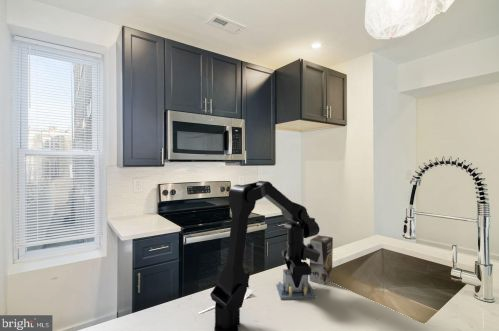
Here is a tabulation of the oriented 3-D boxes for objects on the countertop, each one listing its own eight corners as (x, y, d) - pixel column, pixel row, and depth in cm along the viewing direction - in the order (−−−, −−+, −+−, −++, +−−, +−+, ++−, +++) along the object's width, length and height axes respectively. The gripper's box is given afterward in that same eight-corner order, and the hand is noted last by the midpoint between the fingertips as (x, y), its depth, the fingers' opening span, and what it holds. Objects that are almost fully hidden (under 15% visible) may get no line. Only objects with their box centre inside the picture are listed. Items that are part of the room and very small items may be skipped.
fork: (196, 313, 79) (196, 307, 79) (248, 292, 91) (248, 287, 91) (200, 318, 76) (200, 312, 76) (253, 296, 88) (253, 291, 88)
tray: (280, 299, 86) (281, 288, 86) (276, 286, 95) (276, 276, 95) (315, 298, 87) (315, 287, 87) (308, 285, 96) (308, 275, 96)
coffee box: (324, 285, 96) (325, 242, 96) (308, 280, 100) (309, 239, 100) (333, 276, 103) (333, 237, 103) (317, 272, 107) (318, 234, 107)
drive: (285, 292, 88) (285, 274, 88) (282, 285, 93) (283, 269, 93) (308, 291, 89) (308, 274, 89) (304, 285, 93) (304, 268, 93)
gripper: (327, 248, 82) (326, 297, 82) (309, 232, 100) (309, 272, 100) (293, 249, 81) (292, 298, 81) (281, 233, 100) (281, 272, 100)
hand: (295, 284), depth 91 cm, fingers open, 5 cm apart
